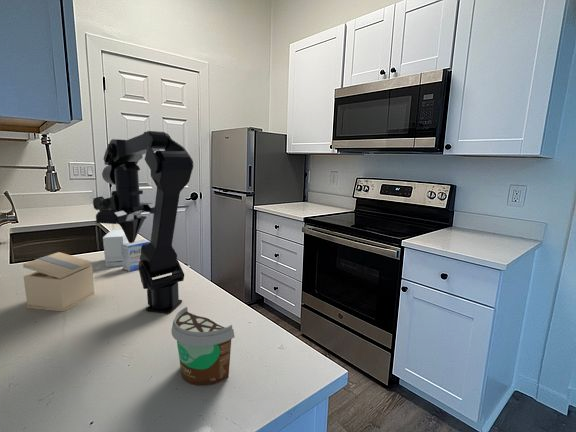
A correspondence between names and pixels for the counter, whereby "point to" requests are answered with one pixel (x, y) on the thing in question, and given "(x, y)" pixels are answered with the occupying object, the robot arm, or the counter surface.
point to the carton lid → (57, 264)
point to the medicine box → (132, 254)
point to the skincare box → (114, 247)
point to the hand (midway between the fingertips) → (131, 242)
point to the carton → (58, 289)
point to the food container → (202, 348)
